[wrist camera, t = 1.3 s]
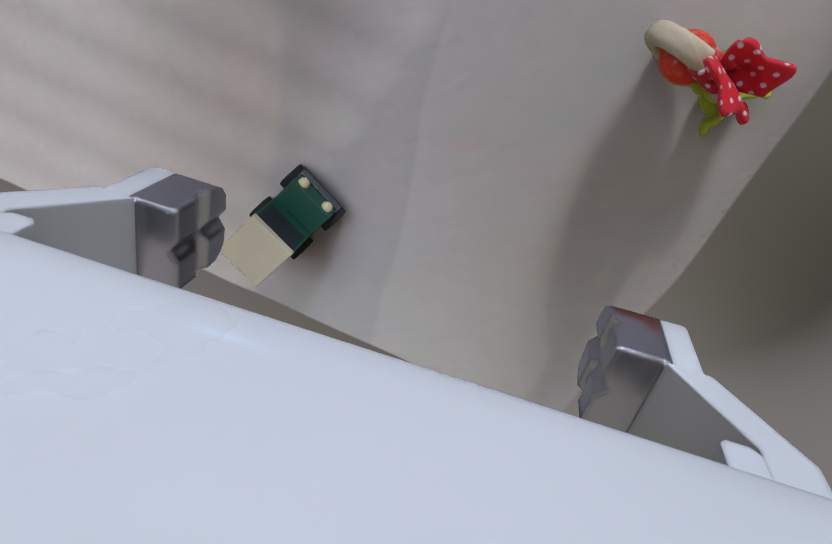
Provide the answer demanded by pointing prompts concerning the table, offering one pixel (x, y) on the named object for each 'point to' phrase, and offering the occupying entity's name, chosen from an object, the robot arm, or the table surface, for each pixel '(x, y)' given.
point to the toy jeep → (282, 226)
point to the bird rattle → (715, 70)
